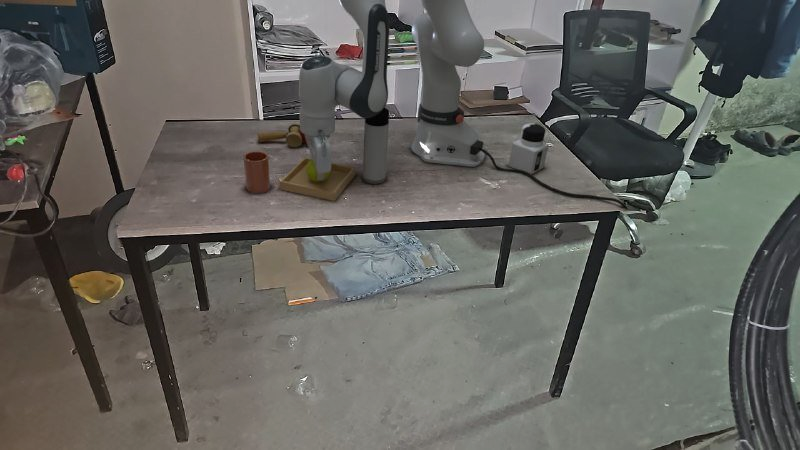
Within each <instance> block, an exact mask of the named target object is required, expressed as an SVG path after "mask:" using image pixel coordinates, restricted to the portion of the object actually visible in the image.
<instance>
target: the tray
mask: <svg viewBox="0 0 800 450" xmlns="http://www.w3.org/2000/svg"><path fill="white" fill-rule="evenodd" d="M310 160H312V158H310V157H303V158H302V159H301V160H300V161H299V162H298V163H297V164H296V165H295V166H294V167H293V168H292V169H291V170H290V171H288V173H286V175H284V176H283V177H282V178H281V179H280V180H279V190H281V191H285V192H291V193H295V194H300V195H304V196H309V197H314V198H318V199H321V200H322V199H323V200H328V201H332V202H335V201H336V200H337V198H338V197H339V196H340V195H341V193H343V191H344V190H345V189H346V188H347V186H348V185H349V184H350V182H351V181H352V180H353V179H354V177H355V176H356V167H354V166H348V165H344V164H338V163H334V162H331V171H330V175H329V177H328V178H327V179H326V180H324V181H321V182H316V181H313V180H311V179H310V178H309V177H308V175H307V172H306V167H307V164H308V162H309V161H310Z"/></svg>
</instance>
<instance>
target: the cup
mask: <svg viewBox="0 0 800 450" xmlns="http://www.w3.org/2000/svg"><path fill="white" fill-rule="evenodd" d="M243 166H244V167H243V168H244V177H245V187H246V190H247V192H249V193H251V194H263V193H266V192H269V190H270V189H271V179H270V178H271V177H270V165H269V155H268V154H267V152H264V151H258V150H257V151H249V152H247V153H245V154H244V155H243Z"/></svg>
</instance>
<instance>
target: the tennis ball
mask: <svg viewBox="0 0 800 450" xmlns="http://www.w3.org/2000/svg"><path fill="white" fill-rule="evenodd" d="M311 159H312V158H311ZM306 172H307V175H308V177H309V178H310V179H311V180H313V181H316V182H321V181H324V180H326V179H327V178H328V177H329V175H330V172H327V173H324V180H318V179H317V173H316V172H317V171H316V168H315V165H314V162H313V159H312V160H310V161H309V162H308V164H307V167H306Z"/></svg>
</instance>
